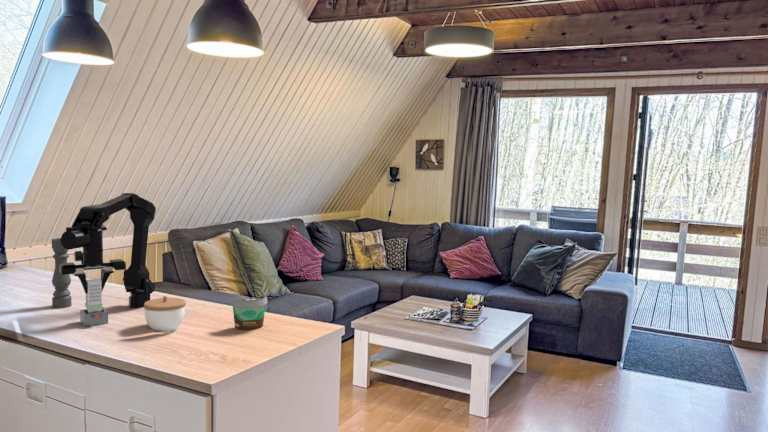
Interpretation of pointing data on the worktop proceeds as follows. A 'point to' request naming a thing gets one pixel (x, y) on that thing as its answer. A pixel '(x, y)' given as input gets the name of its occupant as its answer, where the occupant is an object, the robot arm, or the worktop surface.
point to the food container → (249, 313)
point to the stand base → (95, 321)
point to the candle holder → (60, 277)
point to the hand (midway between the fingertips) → (93, 292)
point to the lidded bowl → (164, 313)
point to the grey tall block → (94, 296)
